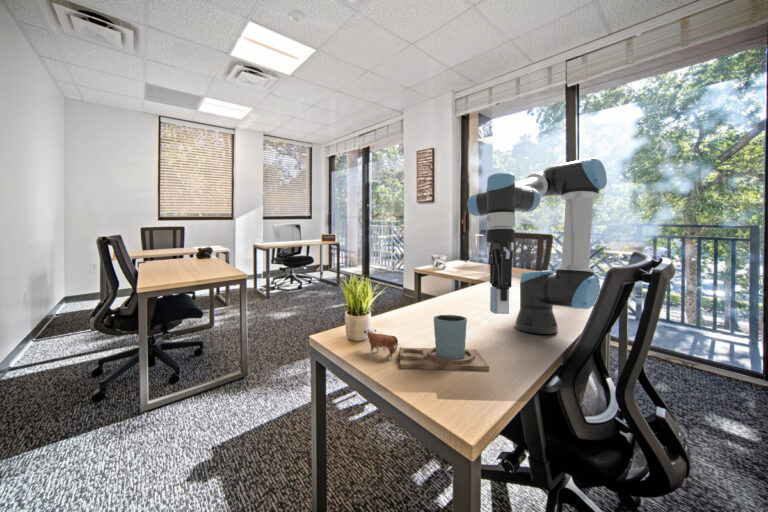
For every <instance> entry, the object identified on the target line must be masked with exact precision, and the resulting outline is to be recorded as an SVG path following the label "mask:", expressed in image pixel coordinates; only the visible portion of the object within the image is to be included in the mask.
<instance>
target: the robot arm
mask: <svg viewBox="0 0 768 512" xmlns="http://www.w3.org/2000/svg"><path fill="white" fill-rule="evenodd" d="M607 178H608V176H607V171H606V169H605V166H604V164H603V162H602V161H601V159H599V158H597V157H595V156H594V157H588V158H581V159H578V160H573V161H569V162H565V163H559V164H555V165H551V166H547V167H546V168H545V169H542V170H539V171H536V172H534V173H530V174H529V175H528V176H526V178H524V179H521V180H518V181H516V176H515V175H514V173H512V172H497V173H493V174H491V175H489V176H488V177H487V180H486V189H485V192H480V193H479V192H478V193H475V194H472V195H471V196H469V197H468V199H467V210H468V212H469V213H470V215H472V216H473V217H474V216H475V217H478V216H479V217H483V216H485V217H484V221H486V228H488V229H487V230H486V243H488V244H492V249H491V250H490V251H489V284H490V285H491V287H496V289H497V312H498V313H508V289H509V290H510V288H512V275H513V274H512V269H513V267H512V266H513V256H514V252H513V250H510V249H509V247H510V246H509V244H513V243H515V239H516V237H515V235H516V234H515V233H516V232H515V229H513V228H515V227H516V213H517V212H522V213H530V212H533V211H535V210H536V209H537V208H538V207H539V205H540V203H541V198H542V197H552V196H561V199H562V200H564V202H565V207H564V222H563V223H564V224H563V236H562V237H563V238H562V252H561V262H560V263H561V264H560V266H559V267H557V268H556V270H555V274H554V271H553V270H551V269H550V270H537V271H526V272H522V274H521V275H520V278H519V279H520V280H519V293H520V294H519V300H520V301H519V304H520V305H519V311H518V313H517V317H516V319H515V323H514V324H515V325H514V328H516V330H518V331H521V332H525V333H532V334H540V335H543V334H544V335H550V334H556V333H558V331H559V329H558V328H559V327H558V323H557V320H556V318H555V313H554V310H553V308H554V306H556V307H557V306H558V307H562V308H564V307H565V308H572V309H573V310H574V309H575V310H576V309H577V310H579V309H580V310H589V309H591V308H593V306H594V305H595V304H596V303H595V301H596V299H597V296H598V293H599V291H600V292H601V284H600V283H601V281H600V279H599V278H598V277H596V276H595V275H594V274H595V271H594V270H593V269H592V268H591V266H590V256H591V255H590V254H591V241H592V240H591V238H592V225H593V208H594V201H595V200H596V199H597V198H598V197H599V193H600V190H603V189H605V188H606V186H607V182H608V180H607ZM599 294H600V293H599ZM597 300H598V299H597ZM596 302H597V301H596ZM594 303H595V304H594Z"/></svg>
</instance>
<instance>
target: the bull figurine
mask: <svg viewBox="0 0 768 512" xmlns="http://www.w3.org/2000/svg"><path fill="white" fill-rule="evenodd" d="M363 333H364V334H365V336H366V337H367V339H368V341H369V344H370V351H369V355H370V354H371V355H373V351H374V349H376V353H380V351H379V349H382V351H385V350H386V349H387V350H388V354H387V356H388V359H387V360H388V361H391V360H392V359H393V355H395V354H396V353H397V351H398V350H397V348H398V345H399V341H398V338H397V336H395V335H392V334H391V335H389V334H384V333H381V332H377V330H376V329H372V327H368V328H366V330H363Z"/></svg>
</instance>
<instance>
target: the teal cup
mask: <svg viewBox="0 0 768 512" xmlns="http://www.w3.org/2000/svg"><path fill="white" fill-rule="evenodd" d="M467 322H468V318H467V317H466V316H462V315H455V314H439V315H435V316H434V317H433V327H434V328H433V329H434V342H435V347H436V357H438V358H443V359H448V360H461V359H464V357H465V349H466V339H467Z"/></svg>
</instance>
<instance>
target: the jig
mask: <svg viewBox="0 0 768 512" xmlns="http://www.w3.org/2000/svg"><path fill="white" fill-rule="evenodd" d="M399 356H400V358H399V368H400V369H410V370H411V369H413V370H445V371H446V370H450V371H451V370H452V371H455V370H456V371H484V372H485V371H487V372H488V371H489V372H490V365H489V364H488V363H487V361H486V360H485V359H484V358H483V357H482V355H481V354H480V353H479V351H478V350H477V349H475V348H465V357H464V359H461V360H448V359H443V358H438V357H436V346H435V347H429V348H428V347H400V348H399Z"/></svg>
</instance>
